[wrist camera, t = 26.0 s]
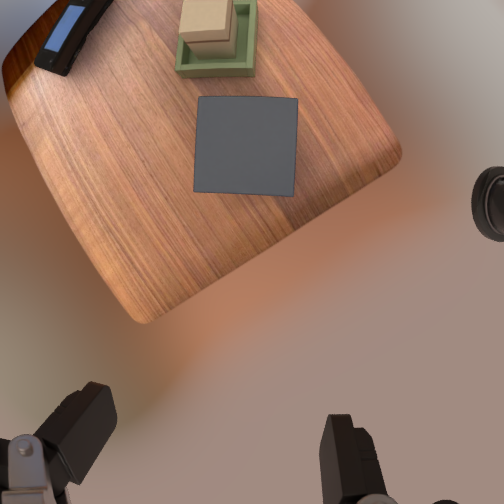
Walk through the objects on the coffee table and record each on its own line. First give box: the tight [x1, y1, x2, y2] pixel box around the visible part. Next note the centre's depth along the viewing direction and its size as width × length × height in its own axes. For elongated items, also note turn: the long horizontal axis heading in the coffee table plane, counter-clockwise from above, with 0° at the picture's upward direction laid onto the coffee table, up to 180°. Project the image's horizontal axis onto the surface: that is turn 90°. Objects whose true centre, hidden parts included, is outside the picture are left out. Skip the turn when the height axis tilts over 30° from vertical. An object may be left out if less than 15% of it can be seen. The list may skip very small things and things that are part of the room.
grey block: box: [193, 96, 298, 197], centre depth 31 cm, size 8×8×15 cm
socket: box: [175, 0, 258, 78], centre depth 33 cm, size 10×11×4 cm
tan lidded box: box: [179, 0, 239, 60], centre depth 30 cm, size 5×6×9 cm
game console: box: [34, 0, 113, 77], centre depth 31 cm, size 16×14×9 cm
